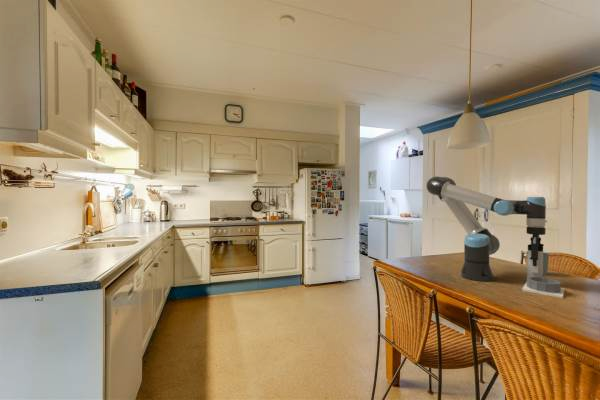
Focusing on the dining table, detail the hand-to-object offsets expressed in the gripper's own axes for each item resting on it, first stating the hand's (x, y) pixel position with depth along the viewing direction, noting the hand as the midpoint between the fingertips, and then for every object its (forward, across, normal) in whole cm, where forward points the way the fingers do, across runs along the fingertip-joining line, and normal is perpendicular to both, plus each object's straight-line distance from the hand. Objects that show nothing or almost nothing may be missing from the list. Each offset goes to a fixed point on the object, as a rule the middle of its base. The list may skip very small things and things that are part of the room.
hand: (535, 270), depth 145 cm
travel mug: (+6, 0, 0) cm, 6 cm away
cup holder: (+6, -14, -4) cm, 16 cm away
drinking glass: (+6, +23, +1) cm, 24 cm away
